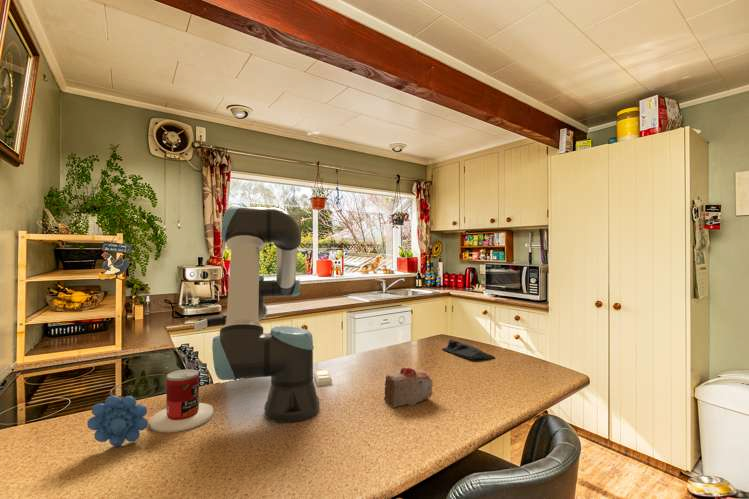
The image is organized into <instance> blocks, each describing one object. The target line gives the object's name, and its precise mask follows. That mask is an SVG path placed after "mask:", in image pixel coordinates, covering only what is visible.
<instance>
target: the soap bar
mask: <svg viewBox="0 0 749 499" xmlns="http://www.w3.org/2000/svg"><path fill="white" fill-rule="evenodd" d="M313 379H314V381H315V383H316V385H317V387H320V386H328V385H329V386H330V385H333V380H332V376H330V374H329V371H328V370H326V369H325V370H317V371H315V372H313Z"/></svg>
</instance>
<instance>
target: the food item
mask: <svg viewBox="0 0 749 499" xmlns="http://www.w3.org/2000/svg"><path fill="white" fill-rule="evenodd" d="M433 383H434V382H433V379H432V378H431V377H430V375H428V373H427V372H426V371H425V370H423V369H416V370H414V368H413V369H412V368H411V367H407V368H406V367H404V368H401V370H400V372H397V373H391V374H387V375H386V376H385V382H384V398H383V401H384V402H385V404H387V405H390V406H391V407H392V408H397V407H402V406H405V405H410V406H414V405H416V404H417V403H420V402H422V401H427V400H428V399H429V398H431V397H432V395H433Z"/></svg>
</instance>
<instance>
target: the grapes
mask: <svg viewBox="0 0 749 499" xmlns="http://www.w3.org/2000/svg"><path fill="white" fill-rule="evenodd" d="M147 412H148V409H147V407H146V406H145V405H144V404H137V399H136V398H135V397H134V396H132V395H126V396H124V397H123V398H120V397H119V396H118V395H117V394H115V395H113V394H111V395H110V396H108V397H106V399H105V401H104V403H102V402H101V403H98V402H97V403H96V404H94V405H93V406H92V408H91V414H92V415H93V416H92V417H90V418H89V419H88V421H87V423H86V424H87V427H88V429H89V430H91V431H95V432H94V434H93V436H94V440H96V441H97V442H99V443H105V442H106V441H108V442H109V444H110V445H111V446H113V447H120V446H122V445H123V444H124V443H125V441H128V442H130V443H131V442H133V443H134V442H136V441H137V440H138V439H139V438H140V431H144V430H145V429H147V428H148V426H149V420H148V419H147V418H146V417H144V416H146V415H147Z"/></svg>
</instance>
